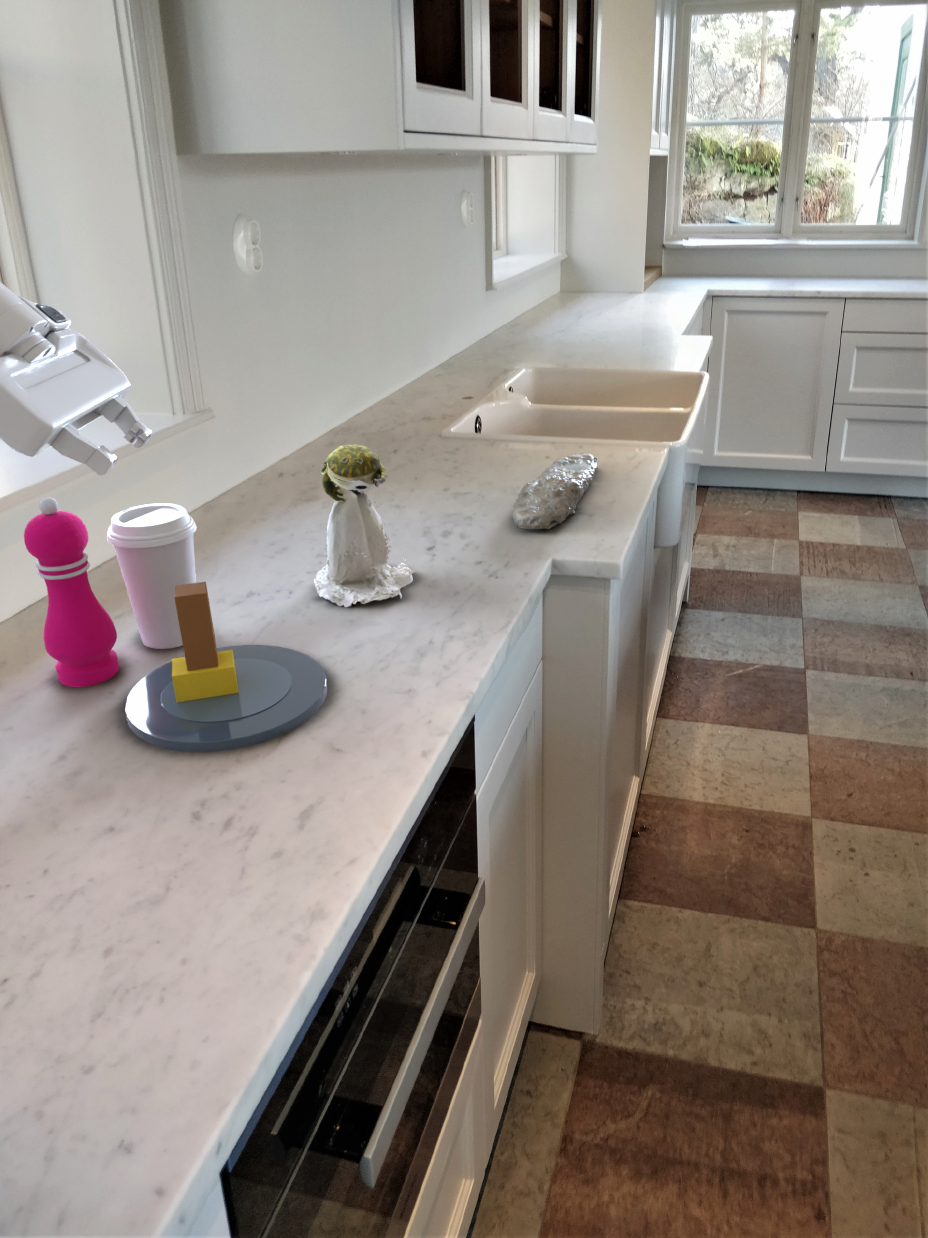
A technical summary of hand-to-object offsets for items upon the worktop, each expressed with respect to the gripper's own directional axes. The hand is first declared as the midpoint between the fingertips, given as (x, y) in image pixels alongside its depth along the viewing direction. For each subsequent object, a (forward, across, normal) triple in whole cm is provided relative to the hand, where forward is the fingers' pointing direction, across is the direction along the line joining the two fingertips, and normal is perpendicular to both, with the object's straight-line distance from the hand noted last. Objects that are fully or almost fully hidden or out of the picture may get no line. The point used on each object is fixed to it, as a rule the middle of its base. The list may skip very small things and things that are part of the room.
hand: (129, 454), depth 87 cm
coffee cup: (+15, +15, +22) cm, 30 cm away
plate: (+22, 0, +14) cm, 26 cm away
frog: (+30, +28, +6) cm, 42 cm away
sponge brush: (+20, 0, +15) cm, 25 cm away
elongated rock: (+48, +62, -13) cm, 80 cm away
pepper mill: (+10, +6, +26) cm, 29 cm away
